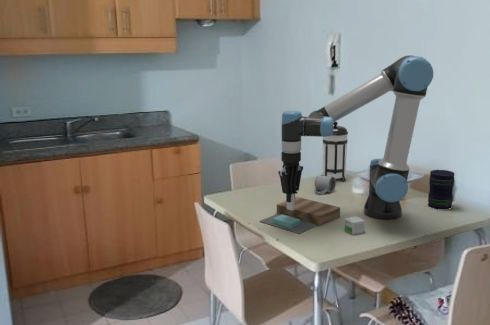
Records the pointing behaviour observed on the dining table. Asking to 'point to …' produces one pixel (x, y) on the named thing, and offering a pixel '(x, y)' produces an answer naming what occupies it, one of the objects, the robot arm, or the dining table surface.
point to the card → (286, 221)
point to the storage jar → (441, 189)
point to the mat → (297, 229)
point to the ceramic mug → (325, 184)
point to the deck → (310, 211)
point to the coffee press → (335, 153)
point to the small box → (354, 225)
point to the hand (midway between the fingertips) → (290, 209)
